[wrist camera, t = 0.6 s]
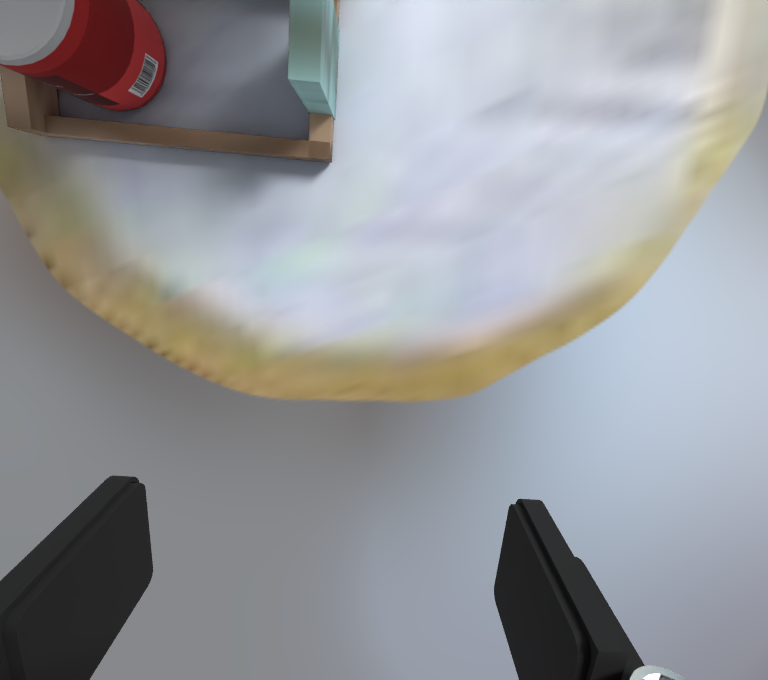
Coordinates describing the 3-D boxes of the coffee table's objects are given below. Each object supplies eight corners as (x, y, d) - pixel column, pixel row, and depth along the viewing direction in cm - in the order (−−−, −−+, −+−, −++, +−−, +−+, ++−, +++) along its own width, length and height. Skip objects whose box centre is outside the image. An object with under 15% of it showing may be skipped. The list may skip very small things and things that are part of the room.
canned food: (155, -14, 30) (36, -142, 20) (181, 108, 33) (86, 52, 22) (51, -2, 30) (-123, -122, 20) (84, 119, 33) (-58, 69, 22)
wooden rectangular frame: (17, -55, 29) (-133, -171, 21) (341, -20, 30) (327, -117, 22) (40, 135, 33) (-81, 103, 24) (332, 162, 33) (317, 141, 25)
